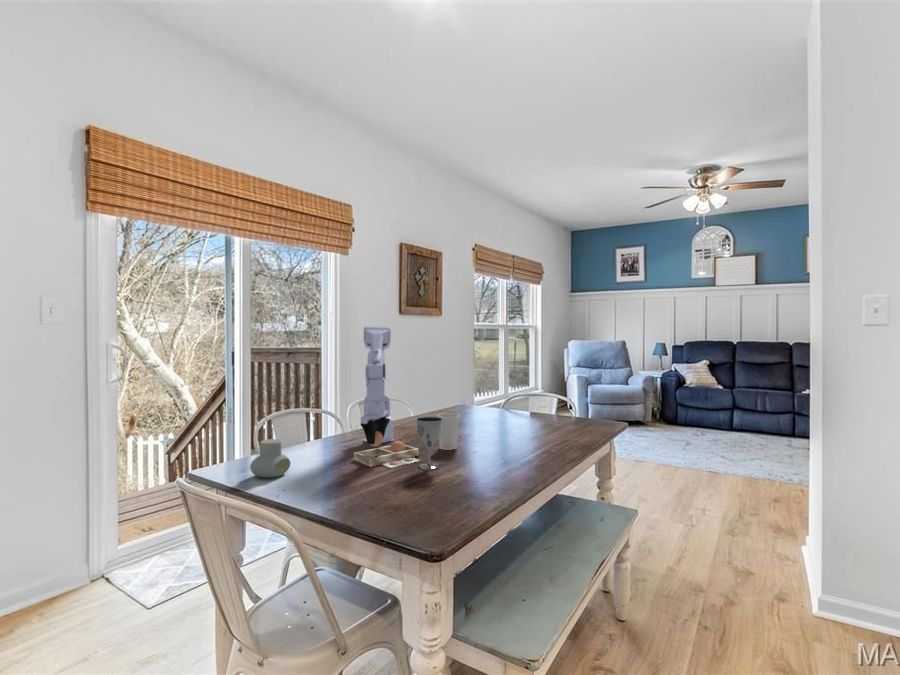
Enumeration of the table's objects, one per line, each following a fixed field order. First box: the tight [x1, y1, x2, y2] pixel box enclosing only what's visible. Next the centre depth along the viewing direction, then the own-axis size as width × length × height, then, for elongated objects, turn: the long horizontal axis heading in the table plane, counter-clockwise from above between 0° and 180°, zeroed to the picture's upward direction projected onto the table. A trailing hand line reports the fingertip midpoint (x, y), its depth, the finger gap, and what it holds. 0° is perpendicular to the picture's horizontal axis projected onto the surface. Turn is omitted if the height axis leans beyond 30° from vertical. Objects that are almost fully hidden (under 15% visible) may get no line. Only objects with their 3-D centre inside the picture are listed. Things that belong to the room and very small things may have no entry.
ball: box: [390, 440, 406, 453], centre depth 160 cm, size 5×5×5 cm
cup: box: [436, 412, 461, 450], centre depth 171 cm, size 8×8×12 cm
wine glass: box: [416, 416, 442, 470], centre depth 148 cm, size 8×8×15 cm
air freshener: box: [249, 438, 291, 479], centre depth 138 cm, size 11×8×10 cm
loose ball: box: [369, 431, 383, 448], centre depth 154 cm, size 5×5×5 cm
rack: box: [353, 444, 422, 469], centre depth 155 cm, size 19×16×2 cm
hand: (375, 442), depth 154 cm, fingers closed on loose ball, 5 cm apart
